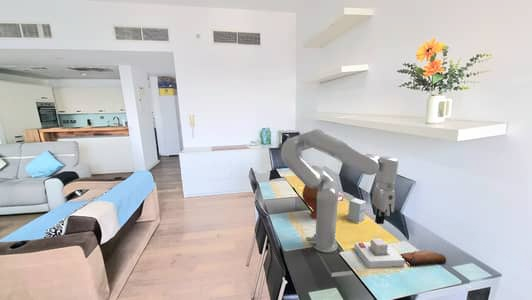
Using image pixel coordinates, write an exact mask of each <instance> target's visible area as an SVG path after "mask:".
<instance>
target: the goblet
mask: <svg viewBox="0 0 532 300" xmlns="http://www.w3.org/2000/svg"><path fill="white" fill-rule="evenodd" d="M317 193H318V189H317V188H309V187H307V186H306V185H305V184H304V187H303V190H302V198H303V202H304V203H305V204H306V205H307V206H308V207H310V208H311V209H312V212H311V213H310V214H309V217H310V218H312V219H313V220H316V217H317Z"/></svg>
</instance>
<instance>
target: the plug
mask: <svg viewBox="0 0 532 300" xmlns="http://www.w3.org/2000/svg"><path fill="white" fill-rule="evenodd" d="M370 242H371V246H370V251H371V252H372V253H373V254H374V255H375V256H387V247H388V245H389V244H388V242H387V241H384V240H383V238H382V237H381V238H370Z"/></svg>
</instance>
